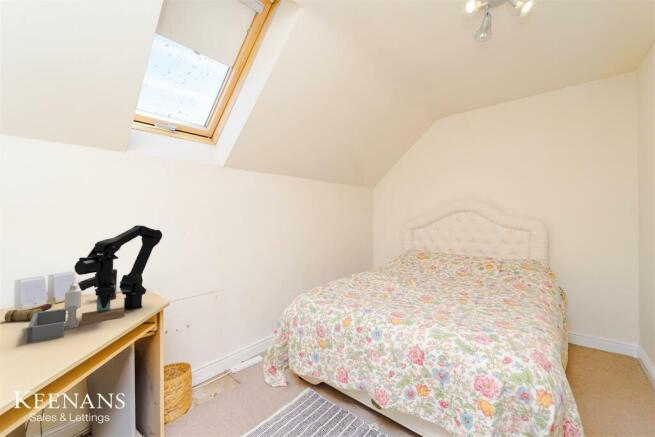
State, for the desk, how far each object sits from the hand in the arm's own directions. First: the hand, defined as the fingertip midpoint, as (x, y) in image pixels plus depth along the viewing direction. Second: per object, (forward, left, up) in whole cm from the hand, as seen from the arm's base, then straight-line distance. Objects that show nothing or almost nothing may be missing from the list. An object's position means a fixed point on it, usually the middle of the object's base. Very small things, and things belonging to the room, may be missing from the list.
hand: (103, 307), depth 124 cm
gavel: (+22, -21, -5) cm, 31 cm away
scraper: (0, +1, -5) cm, 5 cm away
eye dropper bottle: (+10, -23, -5) cm, 25 cm away
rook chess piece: (+10, +6, -5) cm, 13 cm away
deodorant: (-4, -31, -5) cm, 32 cm away
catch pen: (+16, +6, -4) cm, 18 cm away
